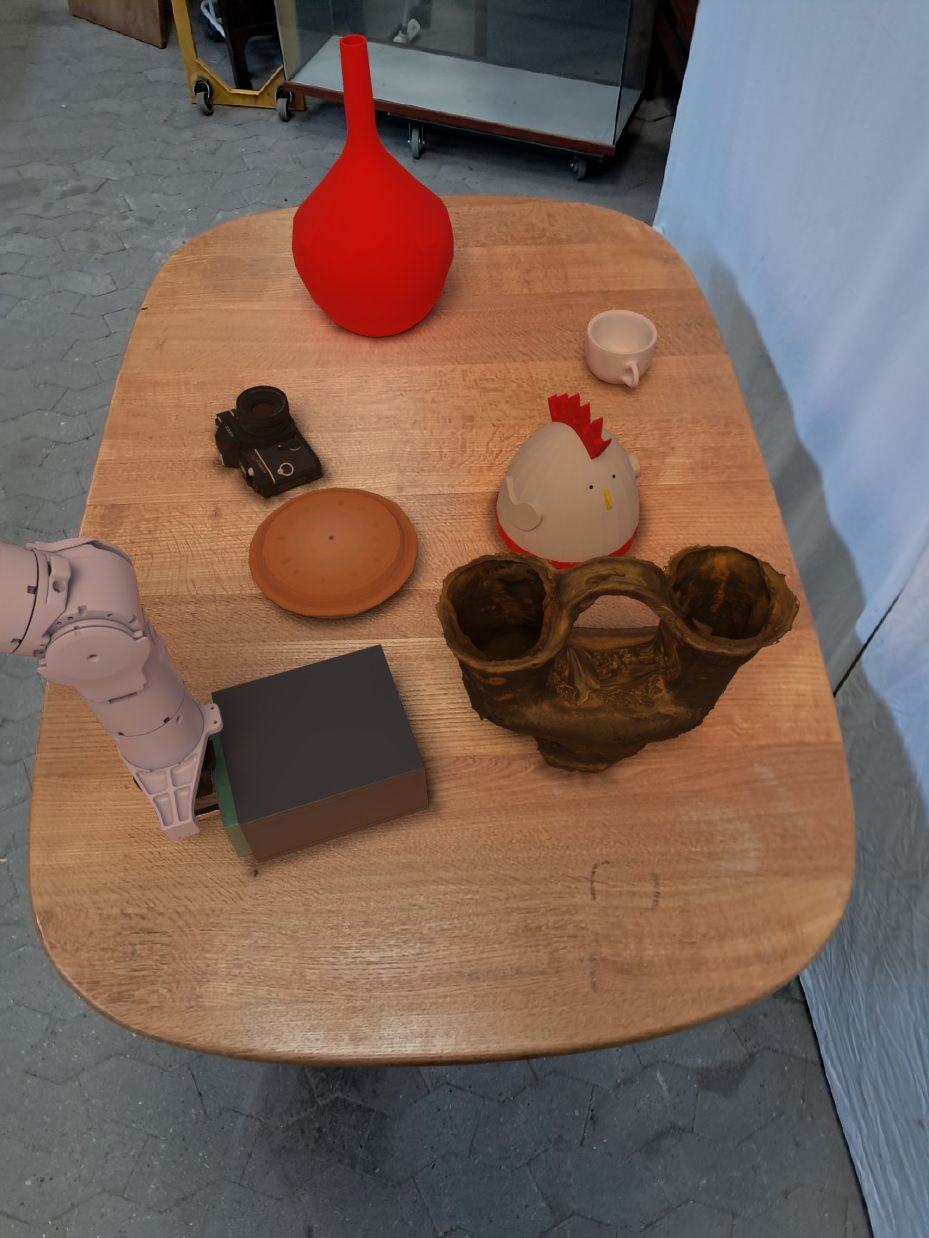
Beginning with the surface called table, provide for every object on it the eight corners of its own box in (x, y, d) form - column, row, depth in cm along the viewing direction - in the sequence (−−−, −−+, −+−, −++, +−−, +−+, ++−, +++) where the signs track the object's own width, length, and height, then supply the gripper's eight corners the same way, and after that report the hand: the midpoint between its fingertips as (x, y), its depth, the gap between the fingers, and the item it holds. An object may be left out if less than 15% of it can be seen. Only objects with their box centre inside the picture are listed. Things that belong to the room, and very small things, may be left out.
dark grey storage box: (258, 864, 69) (238, 825, 63) (230, 737, 75) (210, 692, 70) (428, 809, 71) (424, 767, 66) (387, 690, 78) (380, 643, 72)
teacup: (574, 354, 105) (578, 314, 100) (638, 346, 106) (644, 305, 101) (598, 411, 99) (603, 371, 95) (665, 401, 100) (674, 361, 95)
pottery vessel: (726, 661, 79) (789, 504, 63) (754, 774, 73) (832, 630, 57) (441, 671, 79) (432, 515, 63) (443, 784, 73) (433, 643, 57)
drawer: (181, 875, 68) (161, 848, 63) (162, 758, 73) (142, 725, 69) (398, 806, 71) (392, 775, 66) (362, 698, 76) (356, 663, 72)
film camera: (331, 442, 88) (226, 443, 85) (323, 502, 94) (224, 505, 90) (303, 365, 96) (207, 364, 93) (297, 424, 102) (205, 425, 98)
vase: (315, 268, 116) (273, 1, 92) (458, 270, 115) (453, 2, 91) (293, 359, 105) (238, 83, 81) (451, 361, 104) (443, 85, 80)
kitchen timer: (548, 595, 84) (560, 479, 72) (469, 504, 91) (468, 384, 79) (666, 535, 88) (695, 415, 76) (582, 452, 95) (597, 331, 83)
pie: (232, 548, 88) (220, 512, 84) (378, 492, 92) (373, 456, 88) (291, 665, 80) (281, 632, 76) (448, 598, 84) (446, 563, 80)
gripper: (222, 774, 55) (269, 859, 65) (185, 595, 63) (232, 697, 74) (103, 812, 53) (171, 891, 64) (81, 624, 62) (145, 723, 73)
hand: (198, 789), depth 69 cm, fingers closed, pressing on drawer
